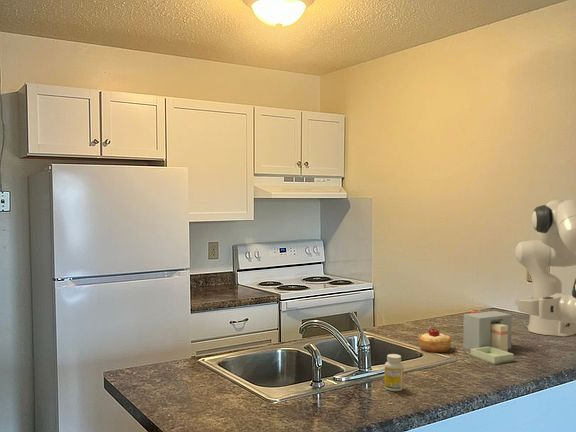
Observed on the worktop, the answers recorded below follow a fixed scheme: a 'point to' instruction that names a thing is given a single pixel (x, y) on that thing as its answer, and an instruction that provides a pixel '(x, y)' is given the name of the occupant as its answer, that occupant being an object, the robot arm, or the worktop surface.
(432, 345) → the pastry
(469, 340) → the dispenser
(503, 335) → the pink striped block
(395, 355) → the supplement bottle
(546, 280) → the robot arm
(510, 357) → the tray
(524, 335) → the worktop surface
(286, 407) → the worktop surface
